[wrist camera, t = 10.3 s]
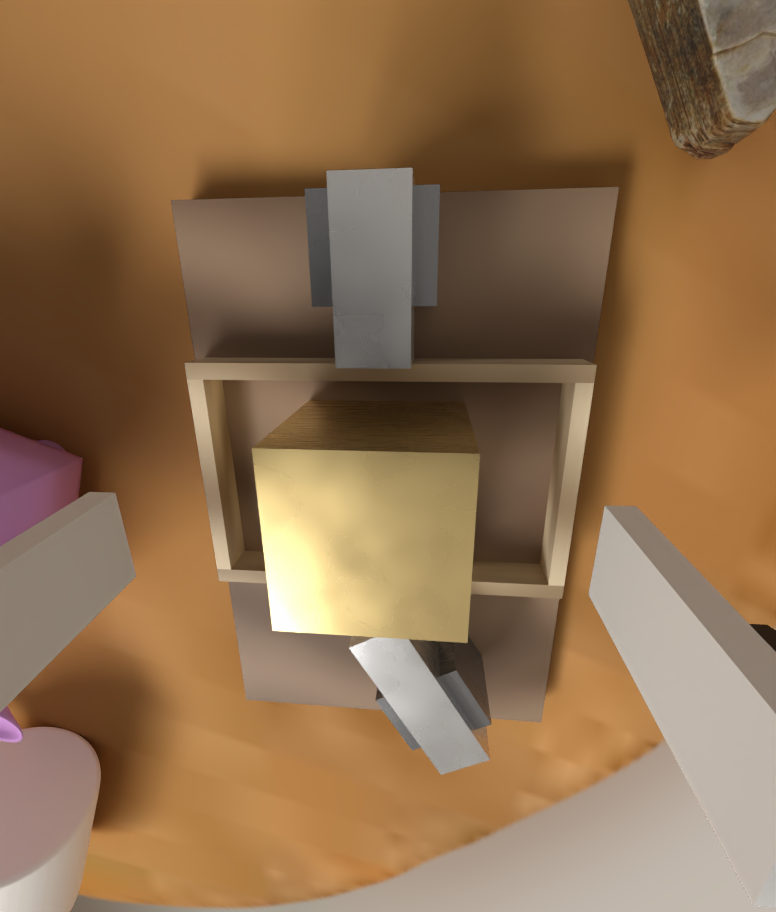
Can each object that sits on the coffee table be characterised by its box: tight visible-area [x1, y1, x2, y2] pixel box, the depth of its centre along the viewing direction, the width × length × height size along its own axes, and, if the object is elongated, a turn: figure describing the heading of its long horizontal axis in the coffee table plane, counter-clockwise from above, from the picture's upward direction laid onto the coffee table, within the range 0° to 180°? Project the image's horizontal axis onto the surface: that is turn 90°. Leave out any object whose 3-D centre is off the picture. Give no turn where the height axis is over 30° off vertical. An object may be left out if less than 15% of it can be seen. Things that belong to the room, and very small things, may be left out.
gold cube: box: [252, 400, 480, 643], centre depth 15 cm, size 6×6×6 cm
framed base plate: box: [171, 187, 619, 722], centre depth 19 cm, size 23×15×3 cm, turn 1°
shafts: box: [305, 168, 491, 775], centre depth 17 cm, size 22×6×4 cm, turn 1°
